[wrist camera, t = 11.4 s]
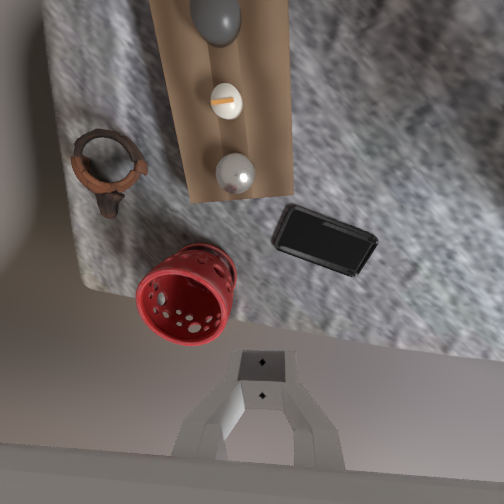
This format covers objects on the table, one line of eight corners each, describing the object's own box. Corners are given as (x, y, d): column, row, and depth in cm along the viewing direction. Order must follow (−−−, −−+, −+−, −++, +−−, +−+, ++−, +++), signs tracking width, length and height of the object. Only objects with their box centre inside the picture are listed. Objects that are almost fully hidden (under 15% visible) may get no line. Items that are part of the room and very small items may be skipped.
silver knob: (256, 149, 34) (252, 151, 27) (259, 183, 36) (255, 192, 29) (224, 152, 34) (212, 155, 28) (228, 185, 36) (219, 195, 30)
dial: (241, 85, 27) (238, 80, 25) (244, 118, 28) (241, 116, 26) (213, 89, 27) (207, 84, 25) (218, 121, 29) (212, 119, 26)
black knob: (244, 7, 28) (234, -32, 21) (248, 57, 29) (241, 35, 23) (205, 14, 28) (185, -22, 22) (211, 63, 30) (195, 42, 24)
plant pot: (220, 224, 39) (199, 256, 29) (251, 288, 44) (243, 336, 33) (154, 249, 43) (113, 286, 32) (190, 306, 47) (164, 356, 36)
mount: (285, -12, 27) (286, -43, 22) (291, 188, 36) (293, 194, 31) (166, 10, 29) (145, -14, 24) (201, 195, 38) (190, 203, 33)
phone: (355, 278, 41) (272, 248, 40) (353, 275, 42) (272, 245, 41) (381, 238, 37) (291, 203, 36) (379, 235, 38) (291, 202, 37)
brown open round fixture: (77, 138, 36) (56, 118, 29) (145, 143, 40) (143, 126, 32) (88, 218, 38) (72, 220, 31) (152, 216, 42) (152, 217, 34)
